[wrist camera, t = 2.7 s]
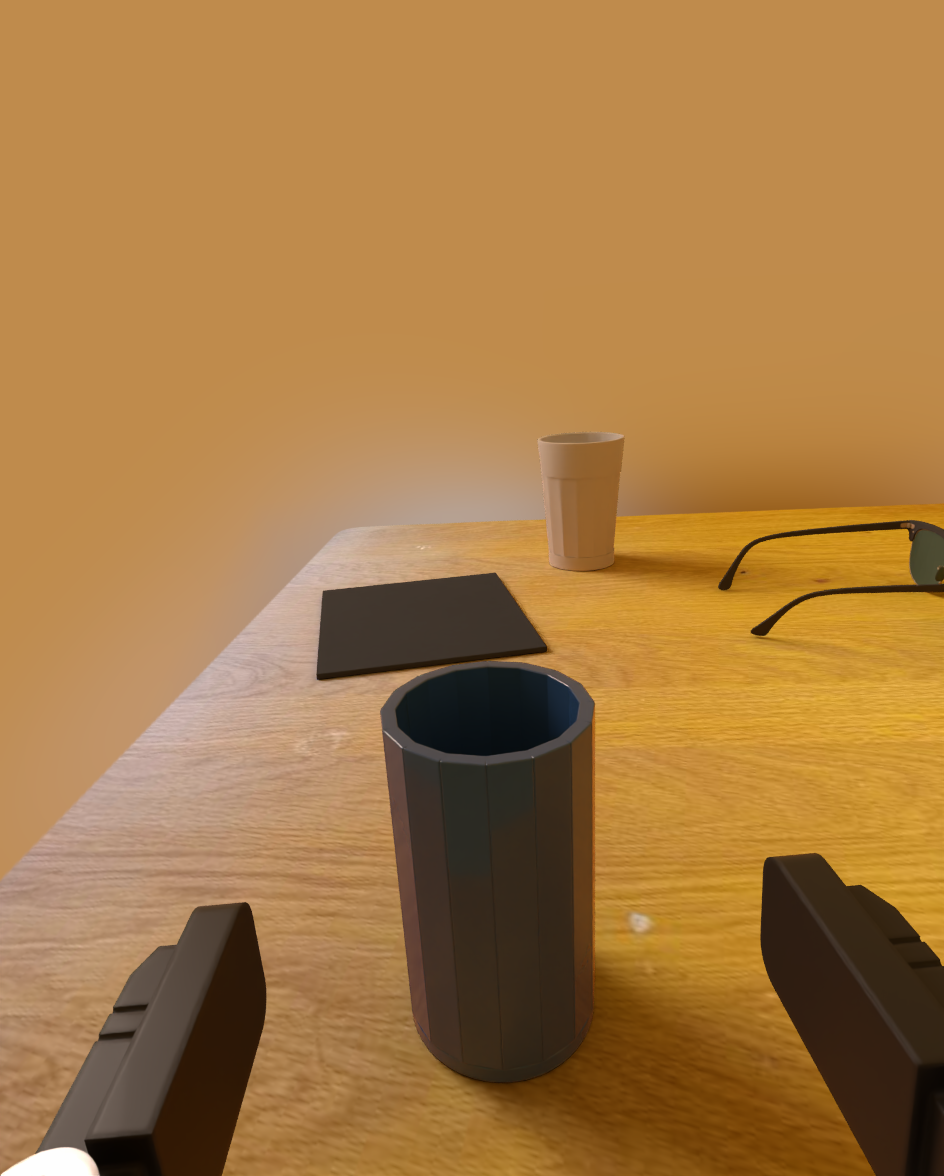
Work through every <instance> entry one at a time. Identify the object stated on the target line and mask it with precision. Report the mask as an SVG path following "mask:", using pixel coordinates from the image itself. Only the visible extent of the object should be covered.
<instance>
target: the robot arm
mask: <svg viewBox="0 0 944 1176" xmlns="http://www.w3.org/2000/svg"><path fill="white" fill-rule="evenodd" d="M761 950H762V956H763V960H764V964H765V967H766V971H767V974H768V976H769V979H770V981H771V983H772V985H773V987H774V989H775V991H776V993H777V995H778V996H779V998H780V1000H781V1002H782V1004H783V1006H784V1007H785V1009H786V1011H787V1013H788V1015H789V1017H790V1018H791V1020H792V1022H793V1024H794V1026H795V1028H796V1029H797V1031H798V1033H799V1035H800V1037H801V1039H802V1041H803V1042H804V1044H805V1046H806V1048H807V1050H808V1052H809V1053H810V1055H811V1057H812V1059H813V1061H814V1063H815V1064H816V1066H817V1068H818V1070H819V1072H820V1074H821V1075H822V1077H823V1079H824V1081H825V1083H826V1085H827V1087H828V1088H829V1090H830V1092H831V1094H832V1096H833V1098H834V1099H835V1101H836V1103H837V1105H838V1107H839V1109H840V1110H841V1112H842V1114H843V1116H844V1118H845V1120H846V1121H847V1123H848V1125H849V1127H850V1129H851V1131H852V1132H853V1134H854V1136H855V1138H856V1140H857V1142H858V1144H859V1145H860V1147H861V1149H862V1151H863V1153H864V1155H865V1156H866V1158H867V1160H868V1162H869V1164H870V1166H871V1167H872V1169H873V1171H874V1173H875V1175H876V1176H944V966H942V965H941V963H940V959H939V958H938V957H937V956H936V954H935V953H934V952H933V951H932V950H931V949H930V947H929V946H928V945H927V944H926V943H925V942H921V940H920V936H919V935H918V933H917V932H916V931H915V930H914V929H913V928H912V926H911V925H910V924H909V923H908V922H907V921H906V919H905V918H904V917H903V916H902V915H901V914H900V912H899V911H898V910H897V909H896V908H895V907H894V906H892V905H891V904H889V903H888V902H886V901H885V900H883V899H882V898H880V897H879V896H877V895H876V894H874V893H873V892H871V891H870V890H868V889H867V888H865V887H864V886H862V885H855V886H846V885H845V884H844V883H843V882H842V880H841V879H840V878H839V877H838V875H837V874H836V873H835V872H834V870H833V869H832V868H831V867H830V865H829V864H828V863H827V862H826V860H825V859H824V858H823V857H822V856H821V855H819V854H817V853H810V854H799V855H788V856H777V857H768V858H767V859H766V860H765V863H764V868H763V888H762V912H761ZM265 1013H266V983H265V977H264V972H263V967H262V961H261V956H260V951H259V946H258V941H257V935H256V930H255V925H254V920H253V915H252V911H251V908H250V906H249V904H248V903H246V902H244V903H233V904H222V905H211V906H200V907H197V908H196V909H195V910H194V911H193V912H192V914H191V916H190V918H189V920H188V922H187V924H186V927H185V929H184V931H183V933H182V935H181V937H180V939H179V941H178V943H177V945H170V946H159V947H158V948H157V949H156V950H155V951H154V952H153V953H152V954H151V955H150V956H149V957H148V958H147V959H146V960H145V961H144V962H143V963H142V964H141V965H140V966H139V967H138V968H137V969H136V970H135V971H134V972H133V973H132V974H131V975H130V977H129V979H128V981H127V983H126V984H125V986H124V988H123V990H122V992H121V994H120V996H119V998H118V999H117V1001H116V1003H115V1005H114V1007H113V1014H110V1015H109V1016H108V1018H107V1020H106V1022H105V1024H104V1026H103V1028H102V1030H101V1032H100V1033H99V1040H98V1041H97V1042H95V1043H94V1045H93V1047H92V1049H91V1050H90V1052H89V1054H88V1056H87V1058H86V1060H85V1062H84V1064H83V1065H82V1067H81V1069H80V1071H79V1073H78V1075H77V1077H76V1079H75V1081H74V1082H73V1084H72V1086H71V1088H70V1090H69V1092H68V1094H67V1096H66V1098H65V1099H64V1101H63V1103H62V1105H61V1107H60V1109H59V1111H58V1113H57V1115H56V1116H55V1118H54V1120H53V1122H52V1124H51V1126H50V1128H49V1130H48V1131H47V1133H46V1135H45V1137H44V1139H43V1141H42V1143H41V1145H40V1147H39V1148H38V1150H37V1152H36V1153H35V1155H32V1156H30V1157H28V1158H26V1159H24V1160H22V1161H21V1162H19V1163H17V1164H15V1165H14V1166H12V1167H11V1168H9V1169H8V1170H7V1171H5V1172H4V1173H2V1174H1V1175H0V1176H222V1172H223V1169H224V1165H225V1162H226V1158H227V1155H228V1151H229V1147H230V1144H231V1140H232V1137H233V1133H234V1130H235V1126H236V1123H237V1119H238V1115H239V1112H240V1108H241V1105H242V1101H243V1098H244V1094H245V1091H246V1087H247V1083H248V1080H249V1076H250V1073H251V1069H252V1066H253V1062H254V1059H255V1055H256V1051H257V1048H258V1044H259V1041H260V1037H261V1034H262V1030H263V1026H264V1020H265Z"/></svg>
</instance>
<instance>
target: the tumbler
mask: <svg viewBox="0 0 944 1176" xmlns="http://www.w3.org/2000/svg"><path fill="white" fill-rule="evenodd" d="M380 715H381V724H382V733H383V742H384V752H385V761H386V770H387V780H388V789H389V798H390V808H391V817H392V826H393V836H394V845H395V854H396V863H397V873H398V882H399V891H400V901H401V910H402V919H403V929H404V938H405V947H406V957H407V966H408V975H409V984H410V994H411V1003H412V1012H413V1017H414V1022H415V1025H416V1028H417V1031H418V1033H419V1035H420V1037H421V1039H422V1041H423V1042H424V1044H425V1045H426V1046H427V1048H428V1049H429V1050H430V1052H431V1053H432V1054H433V1055H434V1056H435V1057H436V1058H437V1059H438V1060H440V1061H441V1062H442V1063H444V1064H445V1065H446V1066H448V1067H449V1068H451V1069H453V1070H454V1071H456V1072H458V1073H460V1074H462V1075H465V1076H468V1077H470V1078H473V1079H477V1080H482V1081H487V1082H496V1083H506V1082H517V1081H524V1080H528V1079H531V1078H535V1077H538V1076H540V1075H542V1074H545V1073H547V1072H549V1071H551V1070H552V1069H554V1068H556V1067H558V1066H559V1065H560V1064H562V1063H563V1062H564V1061H565V1060H567V1059H568V1058H569V1057H570V1056H571V1055H572V1054H573V1053H574V1052H575V1051H576V1050H577V1048H578V1047H579V1045H580V1044H581V1043H582V1041H583V1040H584V1038H585V1036H586V1034H587V1032H588V1030H589V1027H590V1024H591V1021H592V1017H593V1010H594V986H595V703H594V700H593V699H592V698H591V696H590V695H589V694H588V692H587V691H586V689H585V688H584V687H583V685H582V684H581V683H579V682H577V681H575V680H574V679H572V678H570V677H568V676H566V675H564V674H562V673H561V672H559V671H556V670H553V669H549V668H545V667H540V666H536V665H532V664H528V663H522V662H499V661H488V662H487V661H483V662H475V663H467V664H459V665H452V666H448V667H445V668H441V669H438V670H435V671H432V672H429V673H425V674H422V675H420V676H417V677H416V678H414V679H412V680H411V681H409V682H407V683H406V684H404V685H402V686H401V687H399V688H398V689H396V690H395V691H393V693H392V694H391V696H390V697H389V698H388V700H387V701H386V703H385V704H384V706H383V707H382V708H381V711H380Z"/></svg>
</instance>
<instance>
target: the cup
mask: <svg viewBox="0 0 944 1176" xmlns="http://www.w3.org/2000/svg"><path fill="white" fill-rule="evenodd" d="M623 446H624V436H623V435H621V434H616V433H606V432H578V433H563V434H555V435H548V436H544V437H541V438H539V439H538V448H539V457H540V466H541V473H542V484H543V494H544V505H545V515H546V525H547V535H548V545H549V563H550V565H552V566H554V567H556V568H559V569H564V570H572V571H588V570H597V569H602V568H606V567H608V566H610V565H612V564H613V563H614V537H615V525H616V513H617V502H618V501H617V500H618V490H619V477H620V472H621V466H622V456H623Z"/></svg>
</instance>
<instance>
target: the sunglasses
mask: <svg viewBox="0 0 944 1176" xmlns="http://www.w3.org/2000/svg"><path fill="white" fill-rule="evenodd" d="M893 529H908V531H909V540H910V541H913V542H912V546H911V551H910V560H909V567H910V574H911V576H912V579H913V580H914V582H915V583H916V584H917V585H892V586H870V587H853V588H840V589H831V590H824V591H818V592H813V593H810V594H806V595H804V596H801V597H799V598H797V599H795V600H793V601H792V602H790V603H788V604H787V605H785V606H784V607H783V608H781V609H780V610H779V611H777V612H776V613H774V614H773V615H772V616H770V617H769V618H768V619H766V620H765V621H763V622H762V623H760V624H759V625H758V626H756V627H754V628H753V629H752V630H751V633H752V634H754V635H759V636H765V635H766V634H767V633H768V632H769V631H770V629H771V628H772V627H773V625H774V624H775V623H776V622H777V621H778V620H779V619H780V618H781V617H782V616H783V615H784V614H785V613H786V612H787V611H788V610H790V609H791V608H792V607H794V606H795V605H797V604H799V603H801V602H803V601H805V600H807V599H810V598H814V597H818V596H825V595H832V594H847V593H886V592H929V593H930V592H944V584H941V582H942V581H943V580H944V529H942V528H940V527H937V526H935V525H932V524H929V523H926V522H921V521H915V520H909V521H908V520H907V521H895V522H883V523H871V524H859V525H847V526H837V527H827V528H817V529H808V530H800V531H791V532H785V533H779V534H773V535H769V536H765V537H762V538H759V539H756V540H754V541H752V542H750V543H749V544H748V545H746V546H745V547H744V548H743V549H742V551H741V552H740V553H739V555H738V556H737V558H736V559H735V561H734V562H733V564H732V565H731V567H730V568H729V570H728V571H727V573H726V574H725V576H724V577H723V579H722V580H721V582H720V583H719V586H718V588H719V589H721V590H727V589H729V588H730V587H731V584H732V580H733V577H734V574H735V572H736V570H737V568H738V566H739V564H740V562H741V560H742V558H743V557H744V555H745V554H746V553H747V552H748V550H749V549H750V548H751V547H753V546H754V545H756V544H758V543H760V542H763V541H766V540H771V539H776V538H783V537H792V536H802V535H813V534H826V533H841V532H857V531H874V530H893Z"/></svg>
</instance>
